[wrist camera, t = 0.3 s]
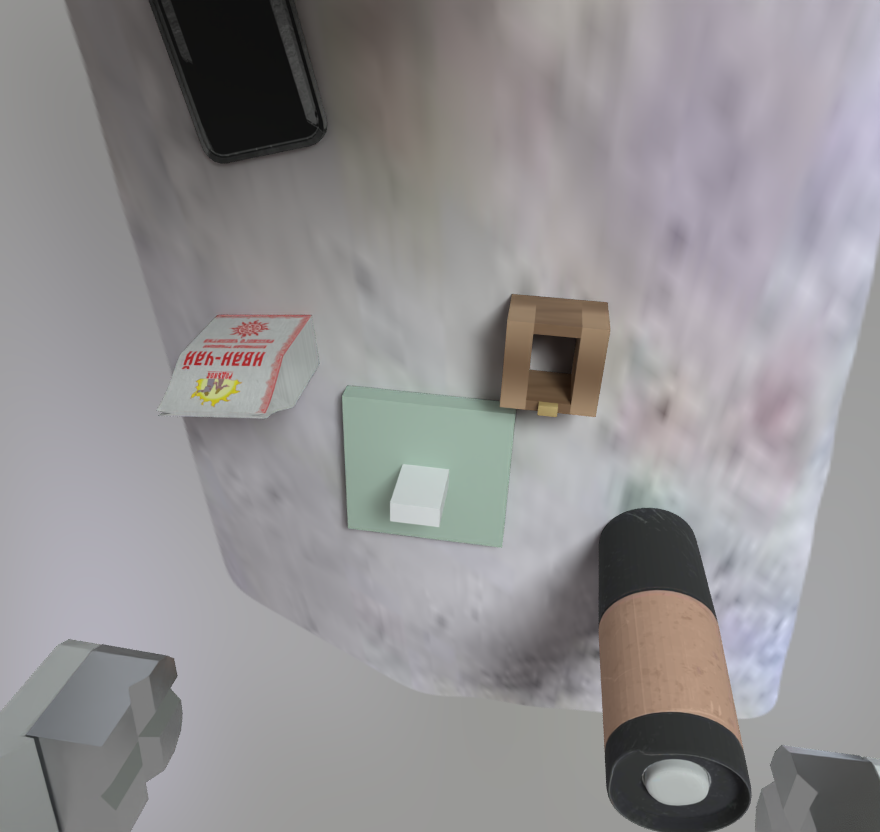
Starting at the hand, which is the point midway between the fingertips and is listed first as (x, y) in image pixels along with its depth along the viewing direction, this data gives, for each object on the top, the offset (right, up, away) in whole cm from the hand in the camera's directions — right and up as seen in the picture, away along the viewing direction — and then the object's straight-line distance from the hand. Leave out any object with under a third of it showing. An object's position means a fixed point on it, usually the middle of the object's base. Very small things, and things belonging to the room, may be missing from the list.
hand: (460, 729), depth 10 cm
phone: (-12, +27, +32) cm, 43 cm away
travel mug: (+15, -5, +46) cm, 49 cm away
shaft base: (-1, +1, +45) cm, 45 cm away
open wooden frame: (+7, +9, +39) cm, 40 cm away
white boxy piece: (-12, +10, +42) cm, 45 cm away
